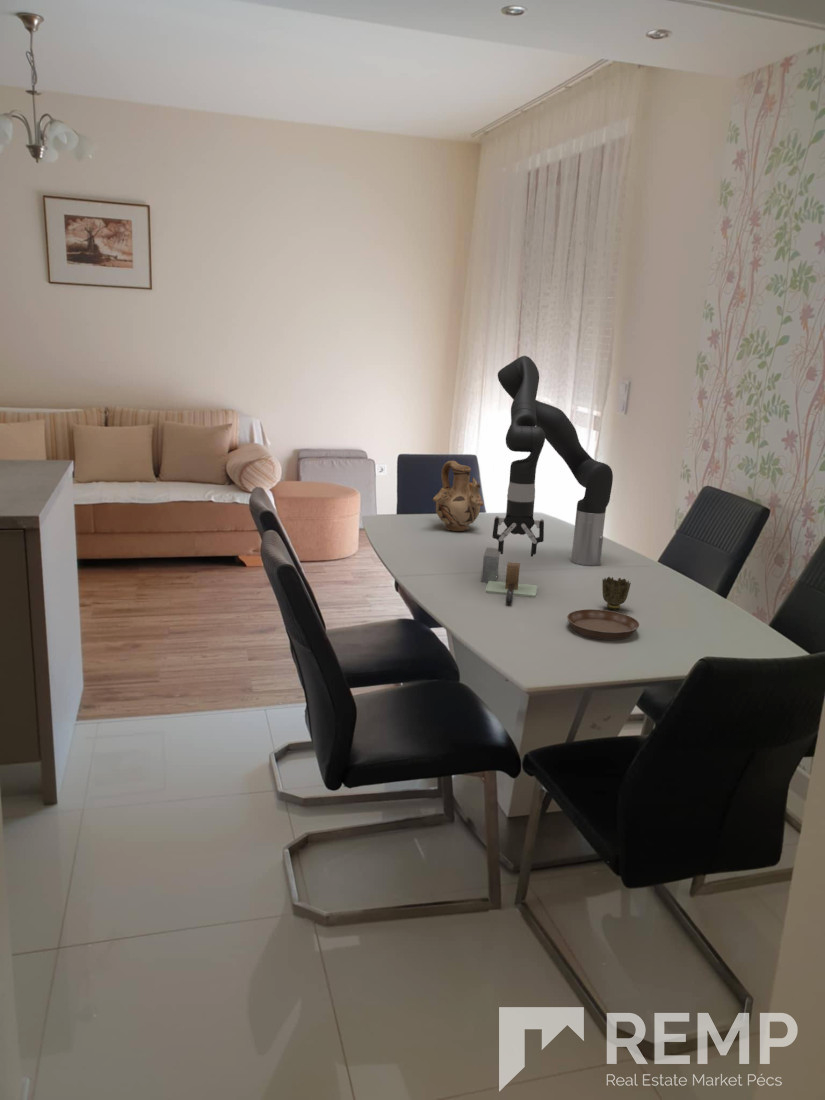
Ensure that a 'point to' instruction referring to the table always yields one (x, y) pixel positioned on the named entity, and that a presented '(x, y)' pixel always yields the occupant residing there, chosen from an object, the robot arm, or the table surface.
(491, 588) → the mat
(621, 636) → the plant saucer
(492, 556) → the slotted metal block
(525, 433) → the robot arm
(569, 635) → the table surface
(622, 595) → the cup
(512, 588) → the wooden head mallet
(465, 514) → the ceramic vessel
